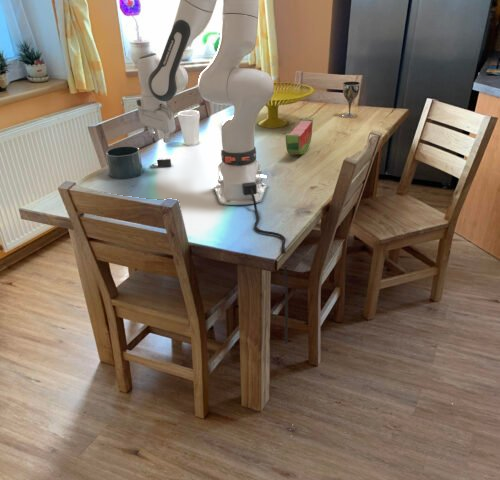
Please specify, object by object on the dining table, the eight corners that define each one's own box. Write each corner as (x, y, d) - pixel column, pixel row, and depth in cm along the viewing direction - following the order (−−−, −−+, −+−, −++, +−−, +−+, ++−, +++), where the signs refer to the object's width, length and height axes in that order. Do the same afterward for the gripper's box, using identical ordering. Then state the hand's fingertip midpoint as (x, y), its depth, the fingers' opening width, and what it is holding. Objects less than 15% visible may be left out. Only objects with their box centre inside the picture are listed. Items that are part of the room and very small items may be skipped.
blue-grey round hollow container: (140, 177, 198) (136, 155, 193) (106, 179, 198) (102, 157, 193) (145, 166, 208) (141, 145, 203) (113, 168, 208) (109, 146, 203)
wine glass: (338, 115, 262) (340, 82, 253) (351, 112, 264) (353, 80, 255) (346, 118, 256) (349, 85, 247) (360, 116, 258) (363, 83, 250)
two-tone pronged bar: (171, 164, 209) (170, 157, 207) (170, 167, 207) (169, 159, 205) (151, 165, 209) (150, 158, 207) (150, 168, 207) (149, 160, 205)
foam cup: (177, 145, 231) (173, 114, 223) (188, 139, 237) (185, 109, 229) (194, 147, 227) (191, 116, 219) (205, 141, 233) (203, 111, 226)
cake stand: (310, 135, 234) (311, 100, 225) (224, 135, 241) (221, 100, 232) (317, 113, 266) (318, 81, 257) (240, 113, 273) (239, 82, 264)
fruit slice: (299, 141, 228) (300, 117, 222) (313, 142, 226) (314, 118, 220) (284, 160, 208) (284, 135, 202) (299, 161, 206) (300, 135, 200)
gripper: (177, 105, 189) (181, 143, 197) (147, 96, 202) (153, 133, 210) (162, 108, 186) (167, 147, 194) (133, 99, 198) (139, 136, 207)
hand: (159, 139), depth 202 cm, fingers open, 8 cm apart
